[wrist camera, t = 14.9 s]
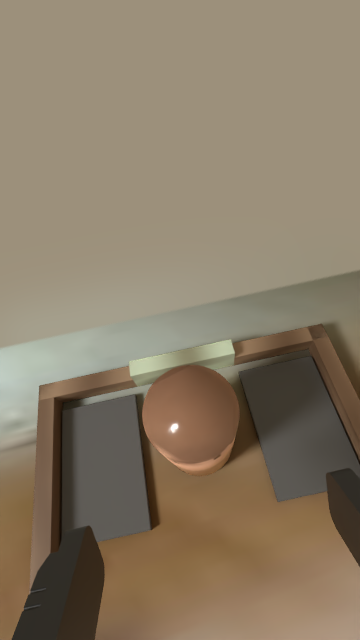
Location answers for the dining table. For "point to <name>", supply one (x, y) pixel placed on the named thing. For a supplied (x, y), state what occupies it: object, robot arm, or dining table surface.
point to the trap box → (47, 508)
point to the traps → (128, 463)
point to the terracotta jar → (192, 418)
